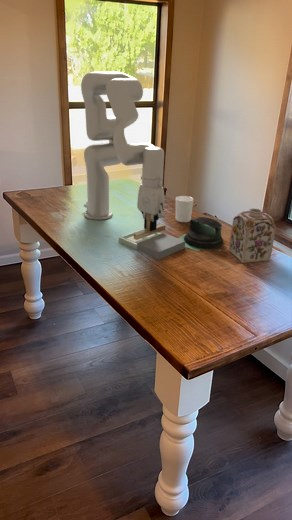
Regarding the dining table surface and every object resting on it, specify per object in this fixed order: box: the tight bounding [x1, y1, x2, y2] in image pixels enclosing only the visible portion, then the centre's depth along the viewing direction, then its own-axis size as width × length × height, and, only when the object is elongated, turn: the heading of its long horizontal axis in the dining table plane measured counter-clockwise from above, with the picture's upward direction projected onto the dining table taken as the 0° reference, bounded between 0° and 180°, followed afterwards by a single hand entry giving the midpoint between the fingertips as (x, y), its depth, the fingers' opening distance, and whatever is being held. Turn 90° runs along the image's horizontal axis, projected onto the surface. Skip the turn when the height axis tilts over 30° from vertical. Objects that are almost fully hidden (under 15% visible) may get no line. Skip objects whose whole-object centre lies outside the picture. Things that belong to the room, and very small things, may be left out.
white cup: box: [174, 195, 195, 223], centre depth 189 cm, size 8×8×10 cm
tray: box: [118, 227, 161, 251], centre depth 167 cm, size 10×15×2 cm, turn 136°
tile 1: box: [126, 236, 143, 244], centre depth 165 cm, size 4×4×2 cm
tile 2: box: [142, 234, 155, 240], centre depth 170 cm, size 4×4×2 cm
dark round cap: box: [178, 216, 224, 252], centre depth 168 cm, size 20×20×9 cm
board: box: [136, 232, 186, 260], centre depth 161 cm, size 11×15×3 cm
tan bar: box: [134, 213, 166, 240], centre depth 161 cm, size 2×16×9 cm, turn 136°
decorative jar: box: [228, 208, 277, 264], centre depth 155 cm, size 12×12×18 cm
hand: (150, 228), depth 162 cm, fingers closed on tan bar, 2 cm apart
